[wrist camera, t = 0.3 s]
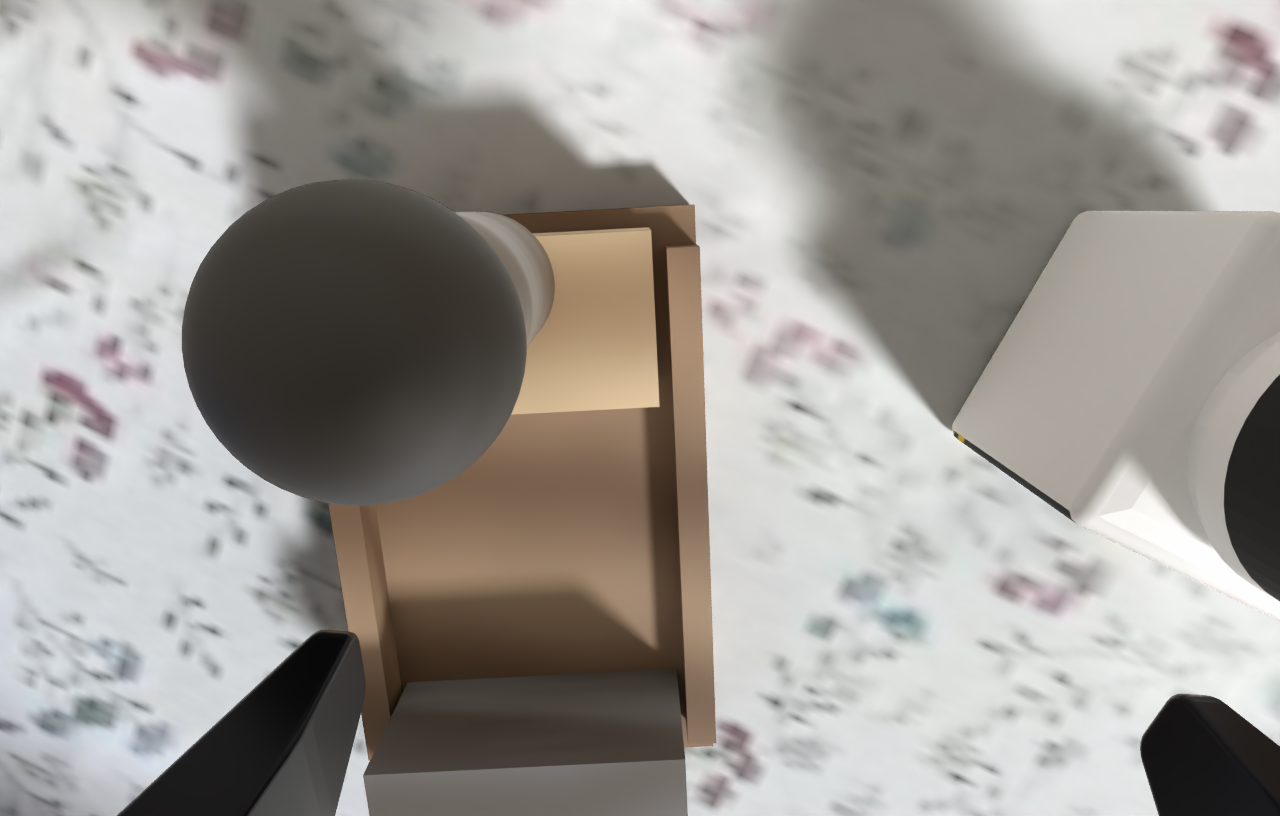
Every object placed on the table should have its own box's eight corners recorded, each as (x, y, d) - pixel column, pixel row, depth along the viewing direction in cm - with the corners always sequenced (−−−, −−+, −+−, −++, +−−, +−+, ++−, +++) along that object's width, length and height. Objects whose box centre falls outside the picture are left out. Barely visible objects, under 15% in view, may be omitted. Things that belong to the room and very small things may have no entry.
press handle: (656, 379, 21) (688, 627, 9) (373, 394, 21) (0, 661, 9) (646, 186, 20) (668, 149, 8) (347, 203, 20) (-130, 193, 8)
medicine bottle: (943, 431, 23) (1247, 649, 12) (1075, 205, 22) (1577, 202, 10) (1143, 528, 24) (1613, 822, 13) (1285, 317, 23) (1969, 431, 11)
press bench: (708, 715, 26) (728, 847, 20) (399, 730, 26) (338, 867, 20) (690, 205, 22) (708, 203, 16) (326, 224, 22) (227, 229, 17)
